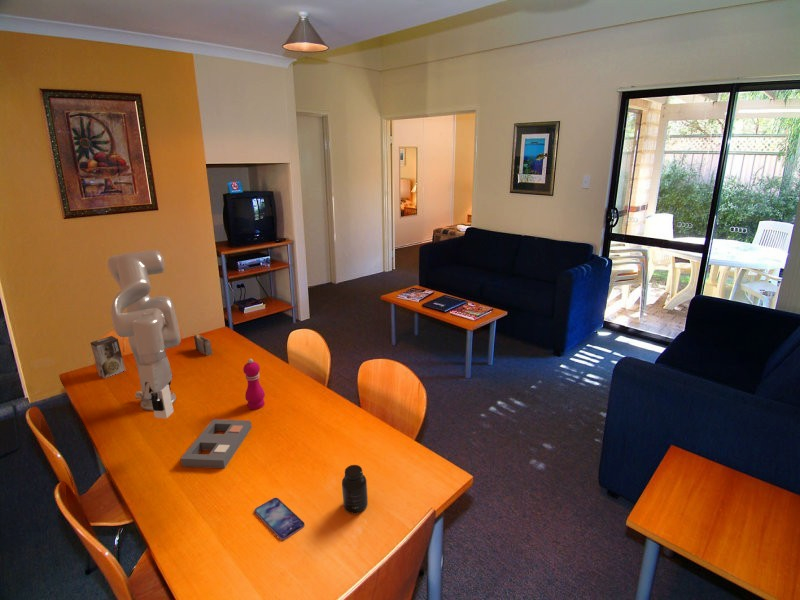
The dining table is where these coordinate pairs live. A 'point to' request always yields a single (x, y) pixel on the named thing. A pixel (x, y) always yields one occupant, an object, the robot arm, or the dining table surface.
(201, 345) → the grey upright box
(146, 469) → the dining table surface
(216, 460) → the socket board
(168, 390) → the plug
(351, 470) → the supplement bottle
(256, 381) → the pepper mill
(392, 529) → the dining table surface
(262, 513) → the smartphone
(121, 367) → the coffee box
